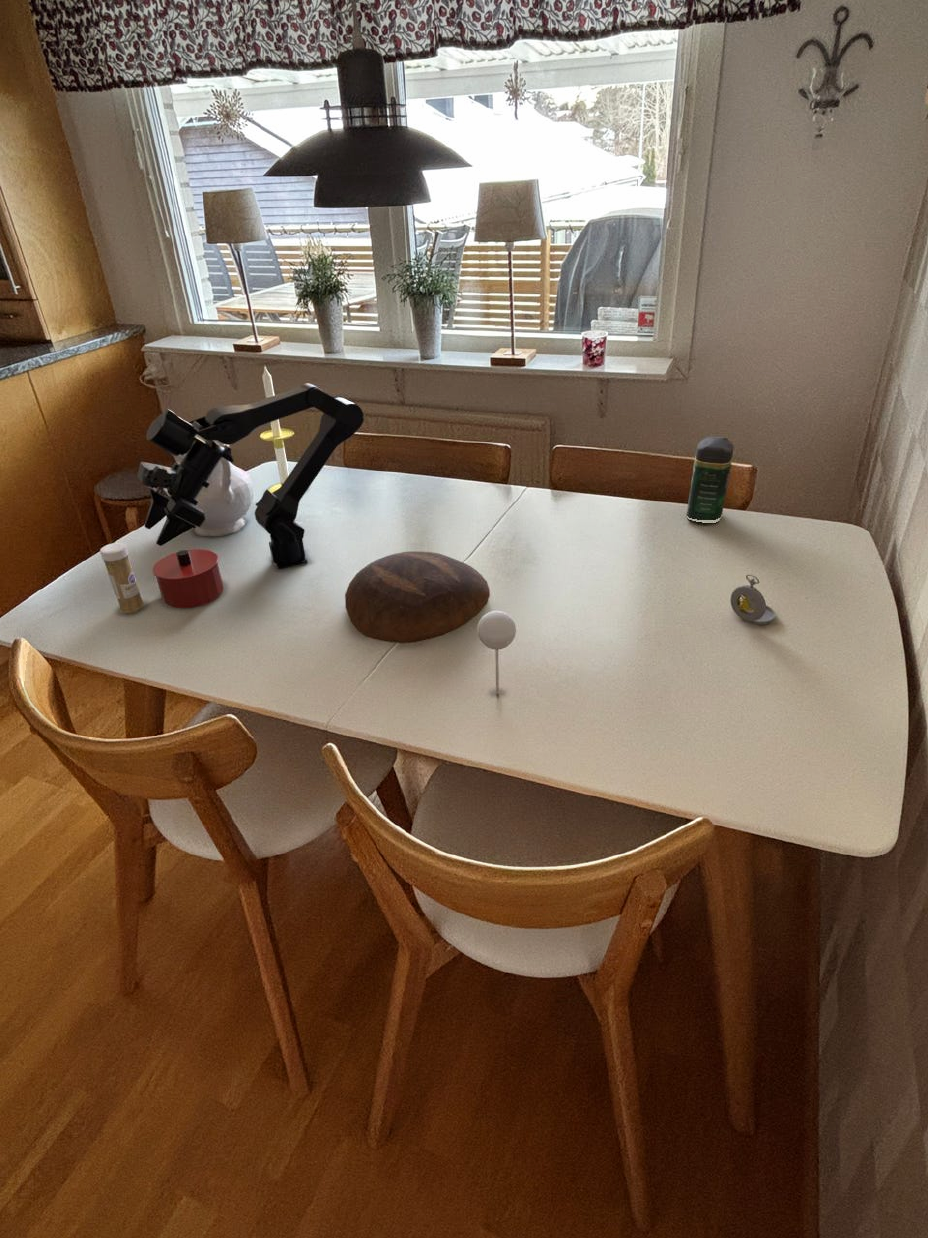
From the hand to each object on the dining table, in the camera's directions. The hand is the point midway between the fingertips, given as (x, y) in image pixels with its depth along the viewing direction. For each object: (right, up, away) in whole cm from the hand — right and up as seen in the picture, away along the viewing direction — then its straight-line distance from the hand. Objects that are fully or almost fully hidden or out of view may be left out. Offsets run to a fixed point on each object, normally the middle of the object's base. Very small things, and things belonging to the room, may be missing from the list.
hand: (152, 536), depth 139 cm
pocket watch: (+112, -16, -7) cm, 114 cm away
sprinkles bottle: (-6, -14, +4) cm, 16 cm away
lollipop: (+65, -28, -23) cm, 75 cm away
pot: (+5, -11, +8) cm, 14 cm away
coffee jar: (+116, +7, +30) cm, 120 cm away
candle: (+13, +18, +53) cm, 58 cm away
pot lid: (+5, -5, +5) cm, 8 cm away
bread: (+51, -14, +1) cm, 53 cm away
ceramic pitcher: (+2, +6, +35) cm, 35 cm away
